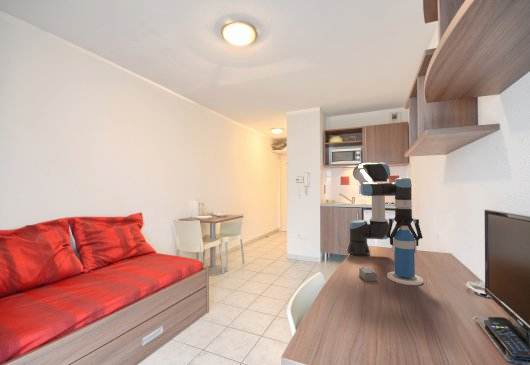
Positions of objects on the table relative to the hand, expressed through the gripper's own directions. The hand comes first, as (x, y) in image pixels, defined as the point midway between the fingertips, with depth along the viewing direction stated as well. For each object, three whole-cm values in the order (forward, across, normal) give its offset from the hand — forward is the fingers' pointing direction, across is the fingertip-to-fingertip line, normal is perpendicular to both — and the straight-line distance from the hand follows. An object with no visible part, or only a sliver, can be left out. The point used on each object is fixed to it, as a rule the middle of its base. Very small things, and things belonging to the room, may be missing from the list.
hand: (404, 251), depth 123 cm
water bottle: (+12, 0, 0) cm, 12 cm away
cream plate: (+14, 0, 0) cm, 14 cm away
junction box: (+14, -18, -2) cm, 23 cm away
